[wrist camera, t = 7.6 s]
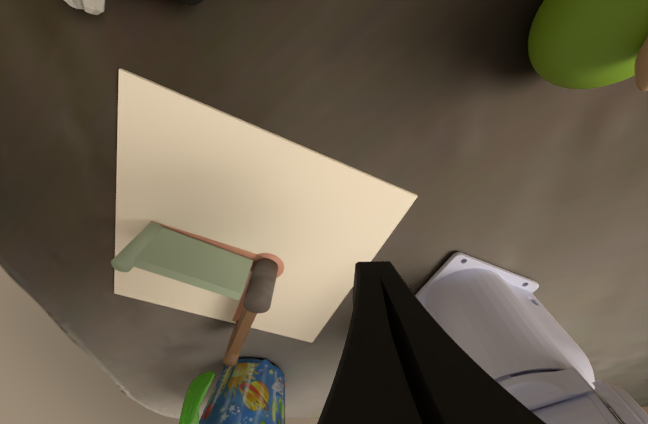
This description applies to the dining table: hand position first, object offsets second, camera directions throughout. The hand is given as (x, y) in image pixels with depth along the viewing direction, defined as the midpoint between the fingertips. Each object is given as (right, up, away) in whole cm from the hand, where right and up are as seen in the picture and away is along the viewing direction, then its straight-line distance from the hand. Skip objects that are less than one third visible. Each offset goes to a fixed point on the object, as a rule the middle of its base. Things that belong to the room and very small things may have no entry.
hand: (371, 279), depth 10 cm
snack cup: (-11, -17, +22) cm, 30 cm away
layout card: (-8, 0, +11) cm, 14 cm away
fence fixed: (-9, -5, +14) cm, 17 cm away
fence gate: (-12, 0, +10) cm, 16 cm away
